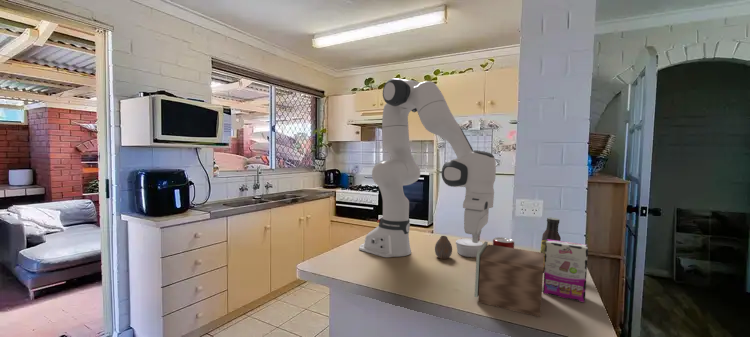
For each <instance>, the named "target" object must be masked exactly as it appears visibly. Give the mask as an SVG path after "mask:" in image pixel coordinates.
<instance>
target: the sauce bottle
mask: <svg viewBox="0 0 750 337" xmlns="http://www.w3.org/2000/svg"><path fill="white" fill-rule="evenodd" d="M559 224H560V219H559V218H557V217H547V218H546V228H545V231H543V234H542V236H541V242H540V251H539V252H540V253H544V264H543V272H544V266H545V245H546V241H547V239H550V240H557V241H562V240H561V236H560V233H559Z"/></svg>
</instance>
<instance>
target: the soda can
mask: <svg viewBox="0 0 750 337" xmlns="http://www.w3.org/2000/svg"><path fill="white" fill-rule="evenodd" d="M492 245H495V246H502V247H508V248H515V241H514V240H513V239H512V238H507V237H503V236H502V237H498V236H497V237H495V238H493V239H492Z"/></svg>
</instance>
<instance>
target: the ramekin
mask: <svg viewBox="0 0 750 337" xmlns="http://www.w3.org/2000/svg"><path fill="white" fill-rule="evenodd" d="M455 244H456V251H457V253H458V254H459V255H460V256H462V257H466V258H477V252H478V250H479V249H480V248H481V246H482V245H483V244H484V242H482V241H480V240H479V242H478V243H473V242H472V238H458V239H456V240H455Z"/></svg>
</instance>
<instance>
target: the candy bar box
mask: <svg viewBox="0 0 750 337" xmlns="http://www.w3.org/2000/svg"><path fill="white" fill-rule="evenodd" d="M588 252H589V248H588V244H584V243H577V242H571V241H562V240H561V241H557V240H550V239H547V241H546V245H545V266H544V271H543V285H542V294H544V295H549V296H553V297H558V298H562V299H563V298H564V299H567V300H572V301H576V302H581V303H585V302H586V295H587V294H586V291H587V290H586V288H587V273H588V271H587V270H588V254H589V253H588Z"/></svg>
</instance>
